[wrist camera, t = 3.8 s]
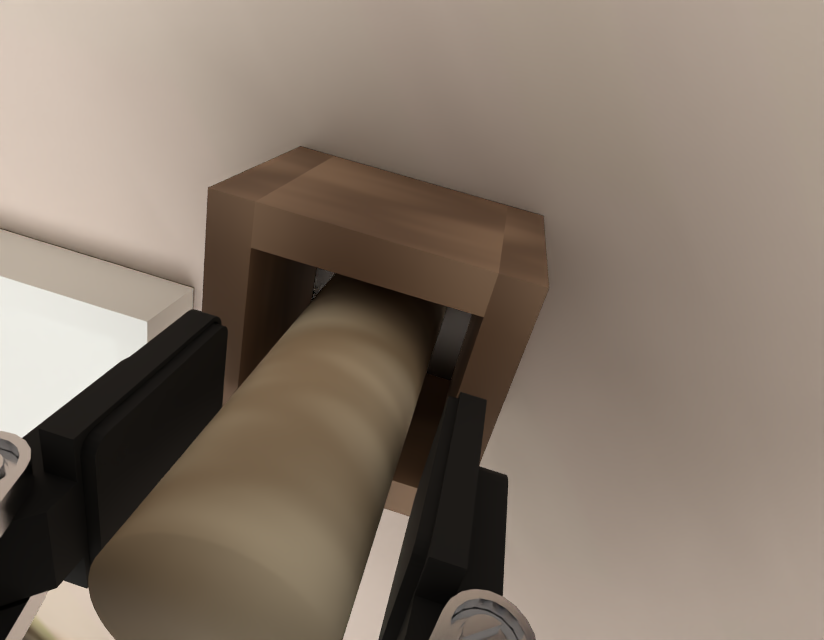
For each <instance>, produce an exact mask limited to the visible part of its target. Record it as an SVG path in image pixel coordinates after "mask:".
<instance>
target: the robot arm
mask: <svg viewBox="0 0 824 640" xmlns="http://www.w3.org/2000/svg"><path fill="white" fill-rule="evenodd" d="M227 338H228V329H227V327H226V326H223V325H222V323H221V319H220V318H219V317H217V316H214V315H211V314H208V313H204V312H201V311H198V310H195V309H191V310H189V311H187V312H186V313H185V314H184V315H182V316H181V317H180V318H179V319H177V320H176V321H175V322H173V323H172V324H171V325H170V326H168V327H167V328H166V329H164V330H163V331H162V332H161V333H159V334H158V335H157V336H155V337H154V338H153V339H152V340H150V341H149V342H148V343H147V344H145V345H144V346H143V347H141V348H140V349H139V350H138V351H136V352H135V353H134V354H132V355H131V356H130V357H128V358H126V359H124V360H122V361H120V362H119V363H118V364H116V365H115V366H114V367H113V368H111V369H110V370H109V371H107V372H106V373H105V374H104V375H102V376H101V377H100V378H98V379H97V380H96V381H95V382H93V383H92V384H91V385H89V386H88V387H87V388H86V389H84V390H83V391H82V392H80V393H79V394H78V395H77V396H75V397H74V398H73V399H71V400H70V401H69V402H68V403H66V404H65V405H64V406H62V407H61V408H60V409H59V410H57V411H56V412H55V413H53V414H52V415H51V416H49V417H48V418H47V419H46V420H44V421H43V422H42V423H40V424H39V425H38V426H37V427H35V428H34V429H33V430H31V431H30V432H29V433H28V434H26V435H25V436H24V437H22V438H21V437H19V436H18V435H16V434H13V433H9V432H5V431H0V640H22V639H23V637H24V635H25V633H26V631H27V630H28V628H29V626H30V624H31V623H32V621H33V619H34V617H35V616H36V614H37V612H38V610H39V608H40V607H41V605H42V603H43V601H44V600H45V598H46V595H47V592H48V591H49V590H52V589H55V588H57V587H58V586H59V585H60V584H61V583H62V581H63V580H64V581H67V582H70V583H73V584H75V585H78V586H81V587H84V588H88V576H89V572H90V567H91V565H92V563H93V561H94V559H95V557H96V556H97V555H98V554H99V553H100V551H101V550H102V549H103V548H104V547H105V545H106V544H107V543H108V542H109V541H110V540H111V538H112V537H113V536H114V535H115V534H116V532H117V531H118V530H119V529H120V528H121V526H122V525H123V524H124V523H125V522H126V521H127V519H128V518H129V517H130V516H131V515H132V513H133V512H134V511H135V510H136V509H137V508H138V506H139V505H140V504H141V503H142V502H143V500H144V499H145V498H146V497H147V496H148V495H149V493H150V492H151V491H152V490H153V489H154V487H155V486H156V485H157V484H158V483H159V482H160V480H161V479H162V478H163V477H164V476H165V474H166V473H167V472H168V471H169V470H170V469H171V467H172V466H173V465H174V464H175V463H176V461H177V460H178V459H179V458H180V457H181V455H182V454H183V453H184V452H185V451H186V450H187V448H188V447H189V446H190V445H191V444H192V442H193V441H194V440H195V439H196V438H197V437H198V435H199V434H200V433H201V432H202V431H203V429H204V428H205V427H206V426H207V425H208V424H209V422H210V421H211V420H212V419H213V418H214V416H215V415H216V414H217V413H218V412H219V411H220V409H221V408H222V403H223V390H224V377H225V364H226V351H227ZM486 405H487V400H486V399H483V398H480V397H476V396H473V395H470V394H467V393H463V392H460V394H459V396H458V398H455V397H452V396H448V398H447V401H446V404H445V407H444V410H443V413H442V416H441V419H440V422H439V425H438V428H437V431H436V434H435V437H434V440H433V443H432V446H431V449H430V452H429V455H428V458H427V461H426V464H425V467H424V470H423V473H422V476H421V479H420V482H419V485H418V488H417V492H416V495H415V498H414V502H413V505H412V509H411V513H410V517H409V521H408V525H407V529H406V533H405V537H404V541H403V545H402V549H401V553H400V557H399V561H398V565H397V569H396V572H395V576H394V580H393V584H392V588H391V592H390V596H389V600H388V604H387V608H386V612H385V616H384V620H383V624H382V628H381V632H380V636H379V640H536V639H535V635H534V632H533V630H532V628H531V626H530V624H529V622H528V620H527V619H526V617H525V616H524V615H523V614H522V613H521V612H520V610H519V609H518V608H517V607H516V606H515V605H514V604H512V603H511V602H510V601H508V600H507V599H506V598H504V597H503V578H504V558H505V537H506V517H507V496H508V477H507V475H504V474H501V473H498V472H495V471H492V470H489V469H486V468H482V467H479V464H480V455H481V447H482V439H483V430H484V422H485V413H486Z"/></svg>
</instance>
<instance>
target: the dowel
mask: <svg viewBox="0 0 824 640" xmlns="http://www.w3.org/2000/svg"><path fill="white" fill-rule="evenodd" d="M446 308H447V306H444V305H441V304H437V303H434V302H431V301H427V300H424V299H421V298H417V297H414V296H411V295H407V294H404V293H401V292H397V291H394V290H391V289H387V288H384V287H381V286H377V285H374V284H371V283H367V282H364V281H361V280H357V279H354V278H351V277H347V276H344V275H341V274H337V273H335V274H334V276H333V277H332V278H331V279H330V280H329V282H328V283H327V284H326V285H325V286H324V287H323V289H322V290H321V291H320V292H319V293H318V295H317V296H316V297H315V298H314V299H313V300H312V302H311V303H310V304H309V305H308V306H307V308H306V309H305V310H304V311H303V312H302V313H301V315H300V316H299V317H298V318H297V319H296V321H295V322H294V323H293V324H292V325H291V326H290V328H289V329H288V330H287V331H286V332H285V334H284V335H283V336H282V337H281V338H280V340H279V341H278V342H277V343H276V344H275V345H274V347H273V348H272V349H271V350H270V351H269V353H268V354H267V355H266V356H265V357H264V358H263V360H262V361H261V362H260V363H259V364H258V366H257V367H256V368H255V369H254V370H253V371H252V373H251V374H250V375H249V376H248V377H247V379H246V380H245V381H244V382H243V383H242V384H241V386H240V387H239V388H238V389H237V390H236V392H235V393H234V394H233V395H232V396H231V398H230V399H229V400H228V401H227V402H226V403H225V405H224V406H223V407H222V408H221V409H220V411H219V412H218V413H217V414H216V415H215V416H214V418H213V419H212V420H211V421H210V422H209V424H208V425H207V426H206V427H205V428H204V429H203V431H202V432H201V433H200V434H199V435H198V437H197V438H196V439H195V440H194V441H193V442H192V444H191V445H190V446H189V447H188V448H187V450H186V451H185V452H184V453H183V454H182V455H181V457H180V458H179V459H178V460H177V461H176V463H175V464H174V465H173V466H172V467H171V469H170V470H169V471H168V472H167V473H166V474H165V476H164V477H163V478H162V479H161V480H160V482H159V483H158V484H157V485H156V486H155V487H154V489H153V490H152V491H151V492H150V493H149V495H148V496H147V497H146V498H145V499H144V500H143V502H142V503H141V504H140V505H139V506H138V508H137V509H136V510H135V511H134V512H133V513H132V515H131V516H130V517H129V518H128V519H127V521H126V522H125V523H124V524H123V525H122V526H121V528H120V529H119V530H118V531H117V532H116V534H115V535H114V536H113V537H112V538H111V540H110V541H109V542H108V543H107V544H106V545H105V547H104V548H103V549H102V550H101V551H100V553H99V554H98V555H97V556H96V557H95V559H94V561H93V563H92V565H91V567H90V572H89V576H88V587H89V593H90V598H91V601H92V603H93V606H94V609H95V611H96V612H97V614H98V616H99V618H100V620H101V621H102V623H103V624H104V626H105V627H106V629H107V630H108V631H109V632H110V634H111V635H112V636H113V637H114V638H115V640H343V636H344V633H345V630H346V627H347V624H348V621H349V617H350V614H351V611H352V608H353V605H354V601H355V598H356V595H357V592H358V589H359V585H360V582H361V579H362V576H363V573H364V570H365V566H366V563H367V560H368V557H369V554H370V550H371V547H372V544H373V541H374V538H375V534H376V531H377V528H378V525H379V522H380V519H381V515H382V512H383V509H384V506H385V503H386V499H387V496H388V493H389V490H390V487H391V483H392V480H393V477H394V474H395V471H396V468H397V464H398V461H399V458H400V455H401V452H402V448H403V445H404V442H405V439H406V436H407V432H408V429H409V426H410V423H411V420H412V417H413V413H414V410H415V407H416V404H417V401H418V397H419V394H420V391H421V388H422V385H423V382H424V378H425V375H426V372H427V369H428V366H429V362H430V359H431V356H432V353H433V350H434V346H435V343H436V340H437V337H438V334H439V331H440V327H441V324H442V321H443V318H444V315H445V311H446Z"/></svg>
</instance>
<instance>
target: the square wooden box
mask: <svg viewBox="0 0 824 640" xmlns="http://www.w3.org/2000/svg"><path fill="white" fill-rule="evenodd" d="M316 268H321V269H324V270H327V271H331V272H334V273H337V274H341V275H344V276H347V277H351V278H354V279H357V280H361V281H364V282H367V283H371V284H374V285H377V286H381V287H384V288H387V289H391V290H394V291H397V292H401V293H404V294H407V295H411V296H414V297H417V298H421V299H424V300H427V301H431V302H434V303H437V304H441V305H444V306H447V307H451V308H454V309H457V310H461V311H464V312H467V313H471V314H472V317H471V320H470V323H469V326H468V329H467V332H466V335H465V338H464V341H463V344H462V347H461V350H460V353H459V356H458V359H457V362H456V365H455V368H454V372H453V375H452V378H451V381H450V380H447V379H444V378H441V377H438V376H434V375H431V374H428V373H426V375H425V378H424V382H423V385H422V388H421V391H420V394H419V397H418V401H417V404H416V407H415V410H414V413H413V417H412V420H411V423H410V426H409V429H408V432H407V436H406V439H405V442H404V445H403V448H402V452H401V455H400V458H399V461H398V464H397V468H396V471H395V474H394V477H393V480H392V483H391V487H390V490H389V493H388V496H387V499H386V503H385V506H384V508H385V509H388V510H391V511H394V512H397V513H401V514H404V515H407V516H410V513H411V509H412V505H413V502H414V498H415V495H416V492H417V488H418V485H419V482H420V479H421V476H422V473H423V470H424V467H425V464H426V461H427V458H428V455H429V452H430V449H431V446H432V443H433V440H434V437H435V434H436V431H437V428H438V425H439V422H440V419H441V416H442V413H443V410H444V407H445V404H446V401H447V398H448V396H452V397H455V398H458V396H459V394H460V392H463V393H467V394H470V395H473V396H476V397H480V398H483V399H486V400H487V405H486V413H485V422H484V430H483V439H482V447H481V455H480V461H481V459H482V456H483V454H484V451H485V449H486V446H487V444H488V441H489V439H490V436H491V434H492V431H493V429H494V426H495V424H496V421H497V418H498V416H499V413H500V411H501V408H502V406H503V403H504V401H505V398H506V396H507V393H508V391H509V388H510V386H511V383H512V381H513V378H514V376H515V373H516V370H517V368H518V365H519V363H520V360H521V358H522V355H523V353H524V350H525V348H526V345H527V343H528V340H529V338H530V335H531V333H532V330H533V328H534V325H535V323H536V320H537V317H538V315H539V312H540V310H541V307H542V305H543V302H544V300H545V297H546V295H547V292H548V290H549V280H548V267H547V255H546V243H545V230H544V218H543V216H542V215H539V214H535V213H532V212H528V211H525V210H521V209H518V208H514V207H511V206H507V205H504V204H500V203H497V202H493V201H490V200H486V199H483V198H479V197H476V196H472V195H469V194H465V193H462V192H458V191H455V190H451V189H448V188H444V187H441V186H437V185H434V184H430V183H427V182H423V181H420V180H416V179H413V178H409V177H406V176H402V175H399V174H395V173H392V172H388V171H385V170H381V169H378V168H374V167H371V166H367V165H364V164H360V163H357V162H353V161H350V160H346V159H343V158H339V157H336V156H332V155H329V154H325V153H322V152H318V151H315V150H311V149H308V148H304V147H301V146H300V147H298V148H296V149H293V150H291V151H289V152H287V153H285V154H282V155H280V156H278V157H276V158H273V159H271V160H269V161H267V162H264V163H262V164H260V165H258V166H255V167H253V168H251V169H249V170H246V171H244V172H242V173H240V174H238V175H235V176H233V177H231V178H229V179H226V180H224V181H222V182H220V183H217V184H215V185H213V186H211V187H208V198H207V219H206V239H205V259H204V279H203V300H202V312H204V313H208V314H211V315H214V316H217V317H219V318H220V319H221V323H222V325H223V326H226V327H227V329H228V338H227V351H226V364H225V377H224V390H223V403H222V407H223V406H224V405H225V403H226V402H227V401H228V400H229V399H230V398H231V396H232V395H233V394H234V393H235V392H236V390H237V389H238V388H239V387H240V386H241V384H242V383H243V382H244V381H245V380H246V379H247V377H248V376H249V375H250V374H251V373H252V371H253V370H254V369H255V368H256V367H257V366H258V364H259V363H260V362H261V361H262V360H263V358H264V357H265V356H266V355H267V354H268V353H269V351H270V350H271V349H272V348H273V347H274V345H275V344H276V343H277V342H278V341H279V340H280V338H281V337H282V336H283V335H284V334H285V332H286V331H287V330H288V329H289V328H290V326H291V325H292V324H293V323H294V322H295V321H296V319H297V318H298V317H299V316H300V315H301V313H302V312H303V311H304V310H305V309H306V308H307V306H308V305H309V304H310V303H311V299H312V293H313V287H314V280H315V274H316Z"/></svg>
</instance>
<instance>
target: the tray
mask: <svg viewBox="0 0 824 640" xmlns="http://www.w3.org/2000/svg"><path fill="white" fill-rule="evenodd" d="M193 291H194V288H191V287H188V286H185V285H182V284H178V283H175V282H172V281H169V280H165V279H162V278H159V277H156V276H152V275H149V274H146V273H143V272H139V271H136V270H133V269H129V268H126V267H123V266H120V265H116V264H113V263H110V262H107V261H103V260H100V259H97V258H94V257H90V256H87V255H84V254H81V253H77V252H74V251H71V250H67V249H64V248H61V247H58V246H54V245H51V244H48V243H45V242H41V241H38V240H35V239H32V238H28V237H25V236H22V235H19V234H15V233H12V232H9V231H5V230H2V229H0V431H5V432H9V433H13V434H16V435H18V436H19V437H21V438H22V437H24V436H25V435H26V434H28V433H29V432H30V431H31V430H33V429H34V428H35V427H37V426H38V425H39V424H40V423H42V422H43V421H44V420H46V419H47V418H48V417H49V416H51V415H52V414H53V413H55V412H56V411H57V410H59V409H60V408H61V407H62V406H64V405H65V404H66V403H68V402H69V401H70V400H71V399H73V398H74V397H75V396H77V395H78V394H79V393H80V392H82V391H83V390H84V389H86V388H87V387H88V386H89V385H91V384H92V383H93V382H95V381H96V380H97V379H98V378H100V377H101V376H102V375H104V374H105V373H106V372H107V371H109V370H110V369H111V368H113V367H114V366H115V365H116V364H118V363H119V362H120V361H122V360H124V359H126V358H128V357H130V356H131V355H132V354H134V353H135V352H136V351H138V350H139V349H140V348H141V347H143V346H144V345H145V344H147V343H148V342H149V341H150V340H152V339H153V338H154V337H155V336H157V335H158V334H159V333H161V332H162V331H163V330H164V329H166V328H167V327H168V326H170V325H171V324H172V323H173V322H175V321H176V320H177V319H179V318H180V317H181V316H182V315H184V314H185V313H186V312H187V311H189V310H191V309H193Z"/></svg>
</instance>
